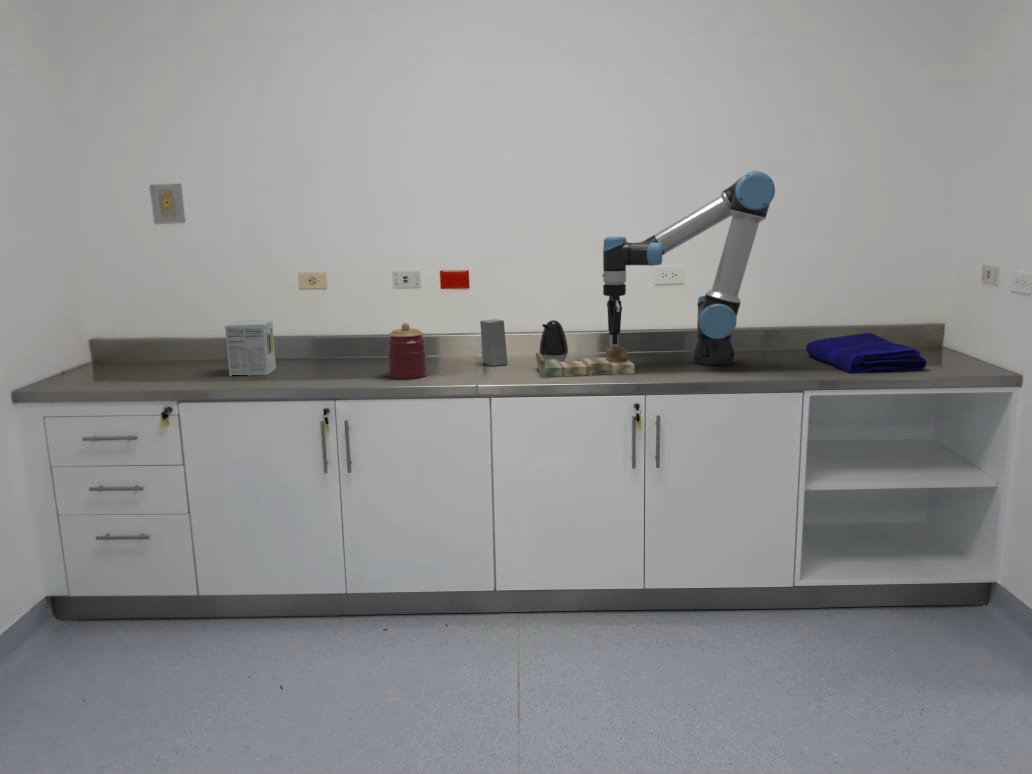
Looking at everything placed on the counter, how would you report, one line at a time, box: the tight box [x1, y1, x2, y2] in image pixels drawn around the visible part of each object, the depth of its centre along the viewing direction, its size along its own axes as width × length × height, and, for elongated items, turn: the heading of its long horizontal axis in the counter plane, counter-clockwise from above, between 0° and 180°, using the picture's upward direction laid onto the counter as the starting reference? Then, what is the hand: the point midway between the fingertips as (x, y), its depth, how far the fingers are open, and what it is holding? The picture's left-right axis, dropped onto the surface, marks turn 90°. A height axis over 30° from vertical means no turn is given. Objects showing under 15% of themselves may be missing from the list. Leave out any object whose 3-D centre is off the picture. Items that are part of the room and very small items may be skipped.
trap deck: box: [535, 352, 636, 378], centre depth 275 cm, size 30×16×6 cm, turn 96°
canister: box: [386, 322, 428, 380], centre depth 272 cm, size 13×13×18 cm
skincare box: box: [479, 318, 508, 367], centre depth 291 cm, size 8×7×16 cm
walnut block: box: [605, 346, 628, 362], centre depth 277 cm, size 6×6×4 cm
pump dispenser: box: [538, 319, 569, 362], centre depth 291 cm, size 10×10×15 cm
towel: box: [805, 332, 927, 374], centre depth 279 cm, size 26×36×9 cm
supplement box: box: [224, 319, 277, 377], centre depth 285 cm, size 13×13×18 cm
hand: (614, 353), depth 280 cm, fingers closed
